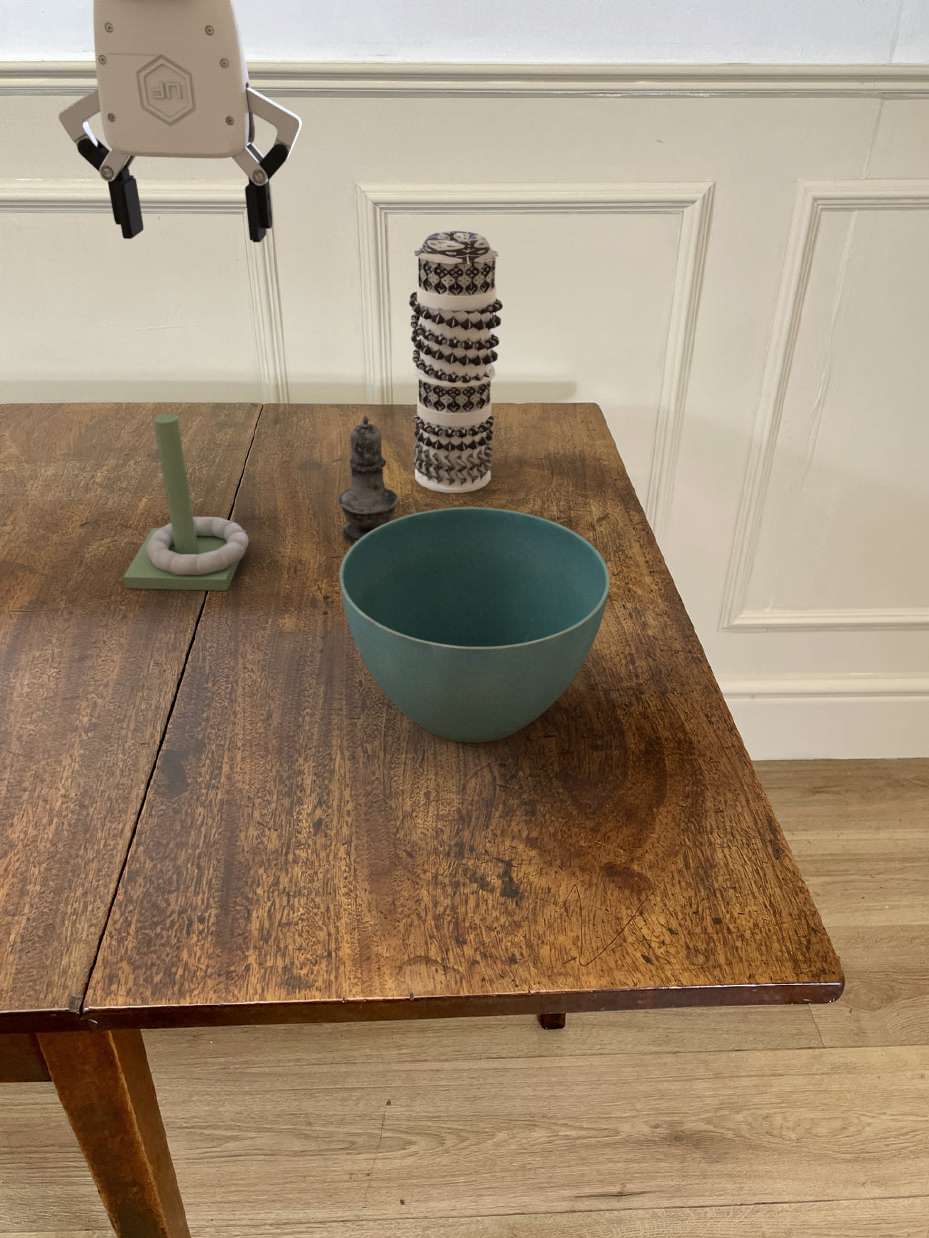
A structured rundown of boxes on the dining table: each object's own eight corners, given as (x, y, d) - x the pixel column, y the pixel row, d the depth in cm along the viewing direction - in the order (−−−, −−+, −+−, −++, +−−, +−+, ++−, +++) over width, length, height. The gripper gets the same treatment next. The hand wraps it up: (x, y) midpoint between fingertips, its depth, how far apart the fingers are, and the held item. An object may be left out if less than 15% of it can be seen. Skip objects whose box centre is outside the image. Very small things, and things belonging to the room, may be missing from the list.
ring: (137, 577, 82) (133, 560, 81) (163, 529, 90) (160, 512, 89) (238, 579, 83) (235, 562, 82) (256, 531, 90) (254, 514, 89)
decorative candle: (467, 502, 98) (474, 253, 84) (394, 480, 102) (389, 238, 88) (509, 471, 105) (523, 234, 91) (440, 452, 109) (442, 222, 95)
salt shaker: (326, 534, 92) (319, 418, 85) (364, 512, 96) (360, 399, 89) (374, 552, 89) (370, 433, 83) (411, 528, 94) (410, 413, 87)
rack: (125, 588, 83) (93, 438, 75) (154, 538, 91) (128, 397, 83) (227, 591, 83) (206, 441, 75) (247, 541, 91) (230, 399, 83)
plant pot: (526, 832, 60) (538, 681, 53) (297, 736, 67) (283, 592, 61) (627, 682, 74) (648, 546, 67) (428, 616, 81) (428, 486, 74)
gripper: (9, -37, 60) (66, 245, 70) (281, -29, 60) (300, 251, 70) (53, -35, 66) (100, 223, 76) (299, -28, 66) (315, 229, 76)
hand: (196, 236), depth 73 cm, fingers open, 9 cm apart
